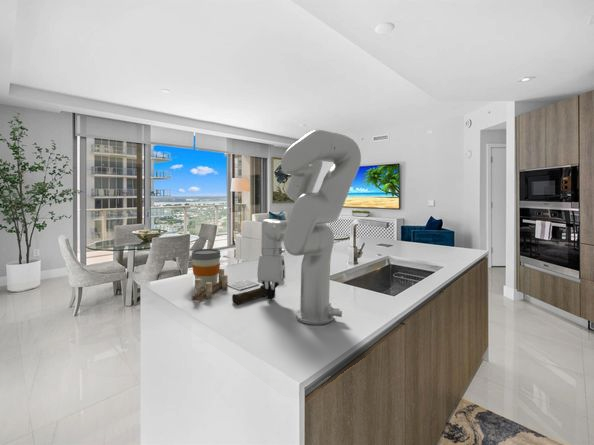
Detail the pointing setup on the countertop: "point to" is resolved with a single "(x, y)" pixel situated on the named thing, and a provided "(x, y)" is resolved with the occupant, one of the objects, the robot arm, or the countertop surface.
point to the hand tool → (249, 295)
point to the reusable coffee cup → (206, 265)
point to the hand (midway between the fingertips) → (270, 298)
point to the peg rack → (210, 287)
